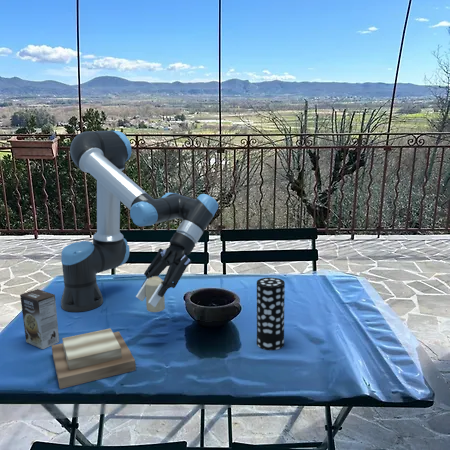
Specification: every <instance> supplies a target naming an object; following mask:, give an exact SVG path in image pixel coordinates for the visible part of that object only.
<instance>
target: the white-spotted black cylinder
mask: <svg viewBox="0 0 450 450" xmlns="http://www.w3.org/2000/svg"><path fill="white" fill-rule="evenodd" d="M285 285H286V283H285V281H284V280H283V279H281V278H278V277H272V276H271V277H262V278H258V279H257V281H256V345H257V347H259V348H260V349H262V350H266V351H276V350H280V349H282V348H283V347H284V344H285V297H286V296H285V293H286V291H285V288H286V286H285Z"/></svg>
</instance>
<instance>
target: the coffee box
mask: <svg viewBox="0 0 450 450" xmlns="http://www.w3.org/2000/svg"><path fill="white" fill-rule="evenodd" d="M19 297H20V304H21V311H22V320H23V327H24V335H25V337H24V338H25V342H26V343H27V344H29V345H32V346H34V347H37V348H38V349H41V350H44V349H47V348H49V347H52V345H56V344H59V343H60V336H59V335H60V334H59V325H58V315H57V304H56V295H55V294H54V293H50V292H47V291H45V290H41V289H39V288H36V289H34V290H30V291H28V292H25V293H21V294H19Z"/></svg>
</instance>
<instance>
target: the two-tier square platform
mask: <svg viewBox="0 0 450 450" xmlns="http://www.w3.org/2000/svg"><path fill="white" fill-rule="evenodd" d="M51 355H52V359H53V364H54V368H55V372H56V379H57V382H58V387H59V390H62V389H65V388H69V387H74V386H78V385H82V384H87V383H89V382H94V381H97V380H102V379H106V378H110V377H113V376H118V375H121V374H126V373H130V372H135V371H136V370H137V369H136V368H137V367H136V366H137V365H136V359H135V357H134V356H133V354H132V351H131V350H130V348H129V347H128V345H127V343H126V341H125V340H124V338H123V336H122V334H121V332H120V331H115V332H113V330H112V328H106V329H105V328H104V329H100V330H97V331H96V330H95V331H90V332H85V333H81V334H76V335H72V336H71V335H70V336H67V337H62V343H61V342H60V343H56V344H54V345H52V346H51Z"/></svg>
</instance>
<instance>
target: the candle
mask: <svg viewBox="0 0 450 450" xmlns="http://www.w3.org/2000/svg"><path fill="white" fill-rule="evenodd" d="M163 281H164V279H162V278H161V277H159V276H152V277H151V278H149V279H148V280H147V281H146V282H145V281H144V282H145V286H146V297H145V306H146V310H147V312H150V313H159V312H162V311H164V310H165V309H166V307H165V306H166V304H165V303H166V301H165V300H166V299H165V295H164V296H163V297H161V299H160V300H159V302H158V304H157V305H156V307H154V306H152V305H151V304H150V303H148V302H149V300H150V298H151V297H152V295H153V294H154V292H155V291H156V289H157V287H158V286H159V284H162V283H161V282H163ZM162 285H163V284H162Z"/></svg>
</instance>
